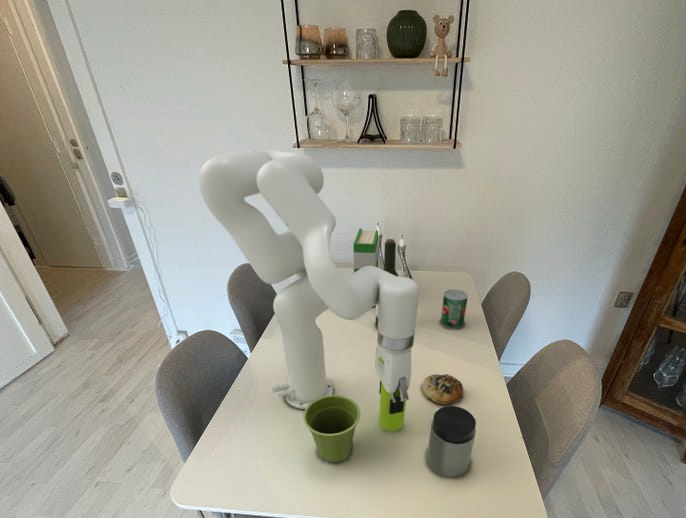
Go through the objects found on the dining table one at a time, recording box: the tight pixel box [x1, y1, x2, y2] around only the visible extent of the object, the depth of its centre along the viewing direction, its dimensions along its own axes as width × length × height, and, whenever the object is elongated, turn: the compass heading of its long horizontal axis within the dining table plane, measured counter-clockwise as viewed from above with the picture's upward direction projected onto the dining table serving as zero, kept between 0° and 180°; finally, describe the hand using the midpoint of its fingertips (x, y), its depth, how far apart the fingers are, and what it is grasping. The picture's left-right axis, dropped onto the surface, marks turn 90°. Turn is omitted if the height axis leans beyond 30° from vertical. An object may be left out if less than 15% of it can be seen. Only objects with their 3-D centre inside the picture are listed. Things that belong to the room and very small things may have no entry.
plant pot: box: [302, 394, 361, 463], centre depth 83 cm, size 12×12×11 cm
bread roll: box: [421, 373, 464, 405], centre depth 101 cm, size 11×11×5 cm
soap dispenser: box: [378, 357, 407, 432], centre depth 86 cm, size 6×7×20 cm
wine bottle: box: [375, 238, 400, 329], centre depth 123 cm, size 8×8×30 cm
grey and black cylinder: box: [426, 405, 477, 478], centre depth 80 cm, size 9×9×12 cm
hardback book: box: [353, 228, 380, 308], centre depth 144 cm, size 18×7×24 cm, turn 174°
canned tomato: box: [440, 289, 469, 330], centre depth 130 cm, size 8×8×11 cm
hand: (390, 401), depth 88 cm, fingers closed on soap dispenser, 5 cm apart
